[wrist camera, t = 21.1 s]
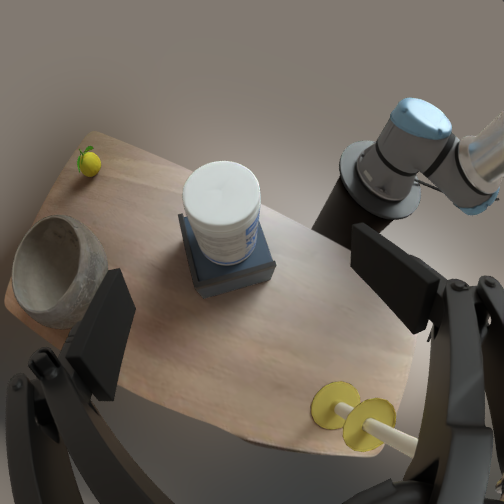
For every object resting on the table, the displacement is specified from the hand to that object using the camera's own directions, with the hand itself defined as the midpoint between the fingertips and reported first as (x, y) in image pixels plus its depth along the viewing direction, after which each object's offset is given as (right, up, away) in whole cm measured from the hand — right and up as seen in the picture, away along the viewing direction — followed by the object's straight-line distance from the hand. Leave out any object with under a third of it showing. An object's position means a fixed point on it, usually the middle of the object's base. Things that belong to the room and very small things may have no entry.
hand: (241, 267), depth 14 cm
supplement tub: (-4, +3, +30) cm, 31 cm away
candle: (+16, -28, +29) cm, 43 cm away
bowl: (-36, -6, +35) cm, 50 cm away
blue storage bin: (-4, 0, +38) cm, 38 cm away
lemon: (-39, +21, +44) cm, 62 cm away
